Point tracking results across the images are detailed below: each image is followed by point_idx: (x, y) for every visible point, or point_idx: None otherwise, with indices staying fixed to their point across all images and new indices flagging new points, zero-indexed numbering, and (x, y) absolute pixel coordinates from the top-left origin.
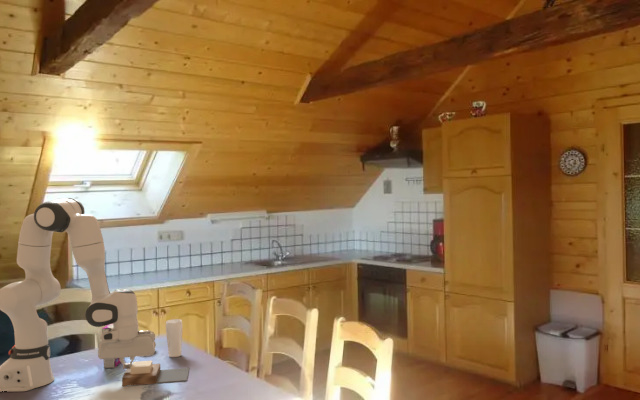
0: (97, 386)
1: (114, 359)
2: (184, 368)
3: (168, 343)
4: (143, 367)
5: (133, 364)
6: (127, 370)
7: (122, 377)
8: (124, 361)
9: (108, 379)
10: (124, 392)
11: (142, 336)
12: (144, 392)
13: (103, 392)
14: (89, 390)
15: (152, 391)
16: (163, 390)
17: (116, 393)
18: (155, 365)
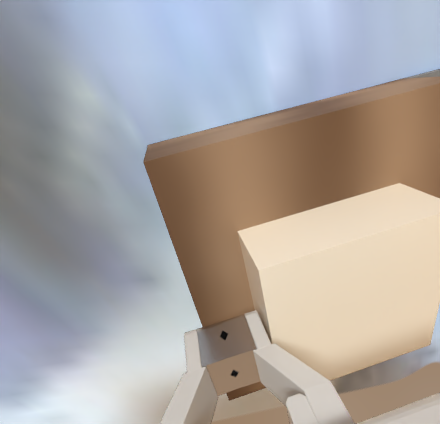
0: (67, 379)
1: None
2: None
3: None
4: (377, 355)
5: (286, 337)
6: (202, 286)
7: (227, 393)
8: (197, 392)
9: (52, 280)
10: (259, 397)
11: None
12: (342, 380)
13: (159, 418)
14: (62, 421)
15: (371, 367)
16: (412, 352)
17: (228, 411)
18: (424, 143)
